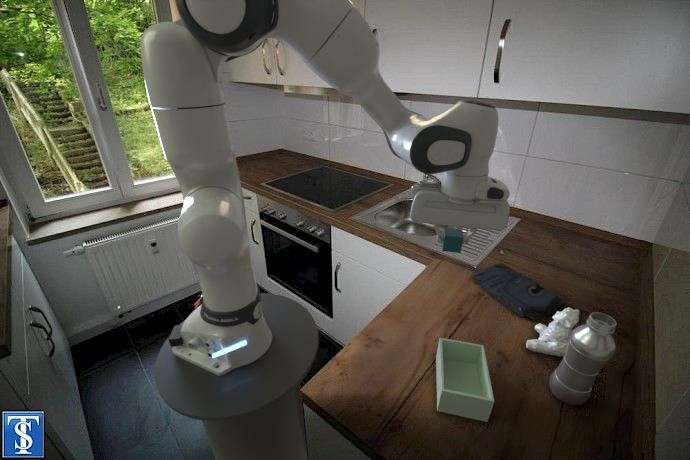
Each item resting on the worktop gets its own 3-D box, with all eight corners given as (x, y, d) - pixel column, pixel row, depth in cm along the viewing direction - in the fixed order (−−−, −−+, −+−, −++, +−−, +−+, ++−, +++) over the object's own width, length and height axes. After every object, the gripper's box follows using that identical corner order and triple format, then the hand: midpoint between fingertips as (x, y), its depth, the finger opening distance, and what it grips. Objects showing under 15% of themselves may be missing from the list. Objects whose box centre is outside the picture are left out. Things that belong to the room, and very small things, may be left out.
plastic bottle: (541, 377, 66) (573, 304, 57) (576, 383, 65) (615, 309, 56) (552, 406, 61) (589, 329, 51) (591, 413, 59) (637, 336, 50)
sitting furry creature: (535, 326, 79) (549, 288, 74) (575, 344, 74) (593, 305, 69) (523, 348, 73) (538, 308, 68) (566, 369, 68) (586, 328, 62)
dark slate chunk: (503, 266, 103) (507, 253, 101) (568, 307, 86) (574, 293, 83) (467, 277, 98) (470, 264, 96) (528, 323, 80) (533, 309, 78)
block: (442, 251, 71) (444, 235, 69) (441, 242, 75) (443, 227, 73) (460, 253, 70) (463, 237, 69) (459, 244, 74) (462, 229, 72)
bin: (441, 390, 57) (494, 401, 55) (439, 337, 68) (483, 345, 66) (437, 411, 60) (487, 422, 58) (435, 356, 71) (478, 364, 69)
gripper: (411, 185, 65) (405, 243, 71) (518, 193, 61) (502, 254, 67) (412, 175, 70) (406, 230, 77) (511, 183, 66) (496, 240, 72)
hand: (452, 241), depth 72 cm, fingers closed on block, 4 cm apart
